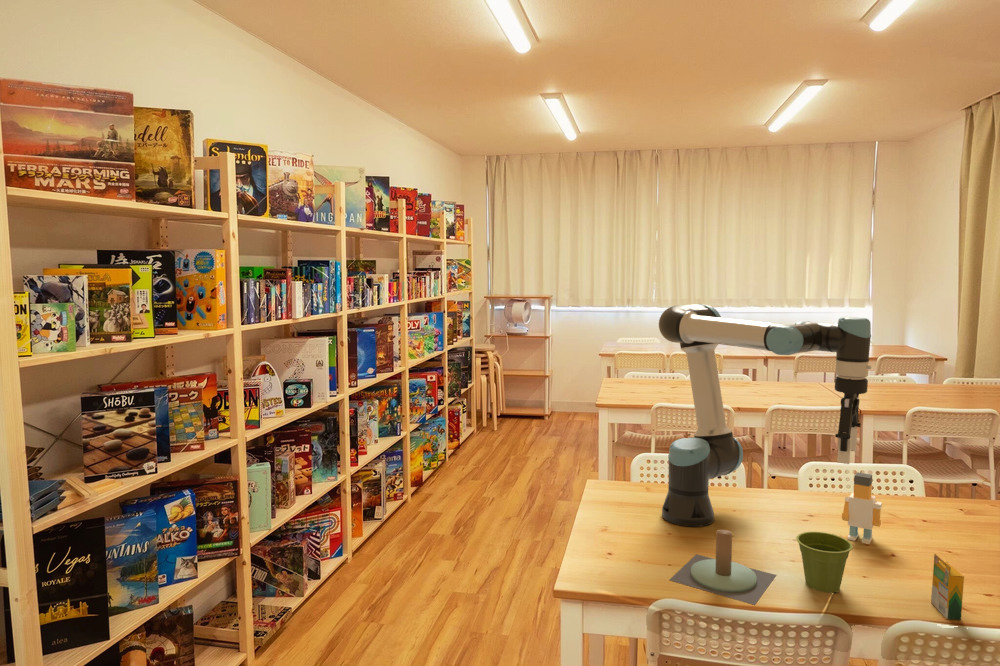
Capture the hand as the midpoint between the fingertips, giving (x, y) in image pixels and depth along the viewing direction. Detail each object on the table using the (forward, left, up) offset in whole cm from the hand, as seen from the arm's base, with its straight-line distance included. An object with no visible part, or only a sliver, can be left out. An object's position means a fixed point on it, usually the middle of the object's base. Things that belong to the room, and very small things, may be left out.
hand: (846, 456), depth 173 cm
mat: (-20, -36, -26) cm, 48 cm away
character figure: (+2, +11, -26) cm, 28 cm away
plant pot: (0, -26, -26) cm, 36 cm away
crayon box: (+24, -22, -26) cm, 41 cm away
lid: (-20, -36, -25) cm, 48 cm away
